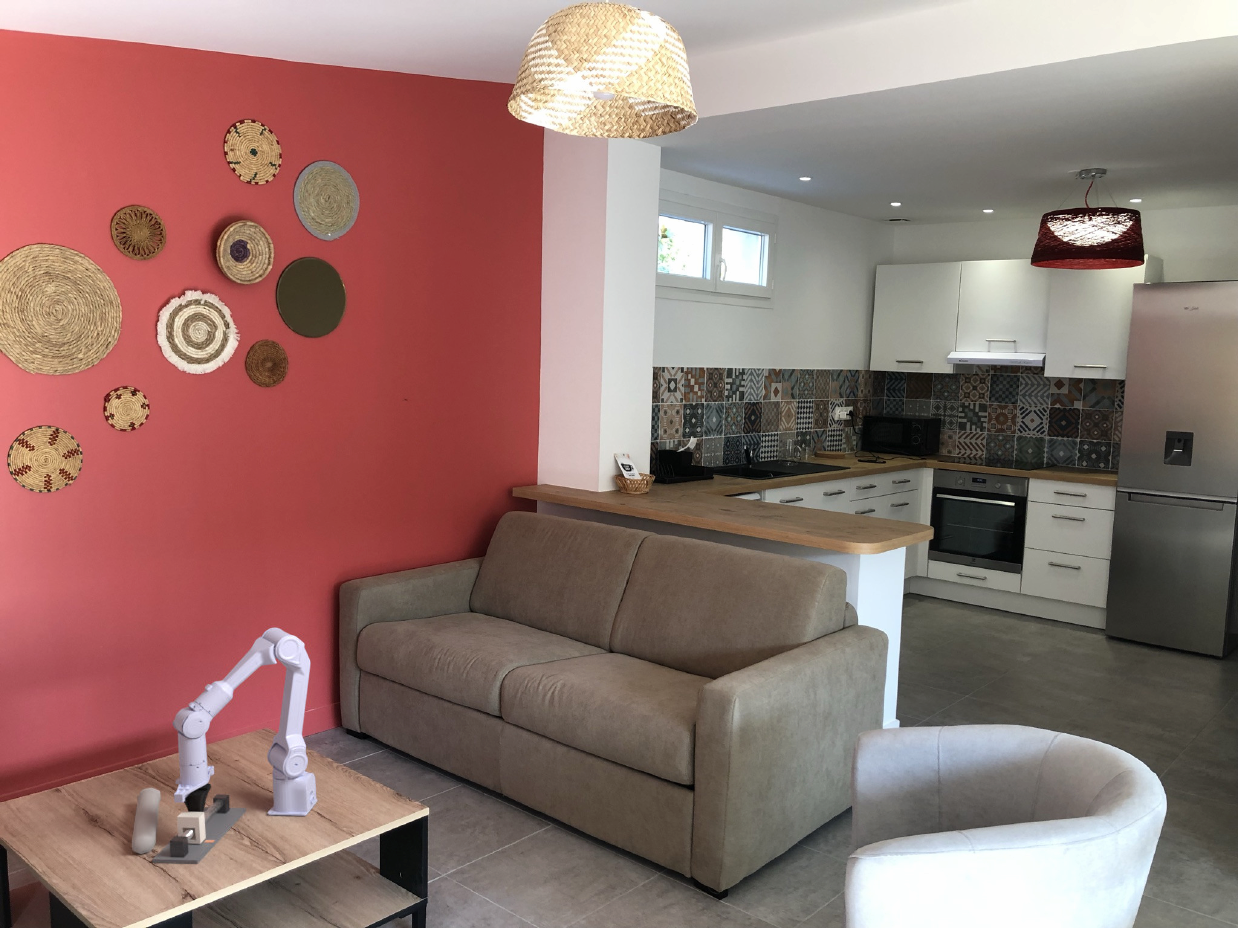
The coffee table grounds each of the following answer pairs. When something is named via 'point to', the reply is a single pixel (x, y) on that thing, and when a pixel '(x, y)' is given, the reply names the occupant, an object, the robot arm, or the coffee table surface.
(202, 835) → the collar
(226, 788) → the coffee table surface
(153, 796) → the tube
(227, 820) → the rod board
